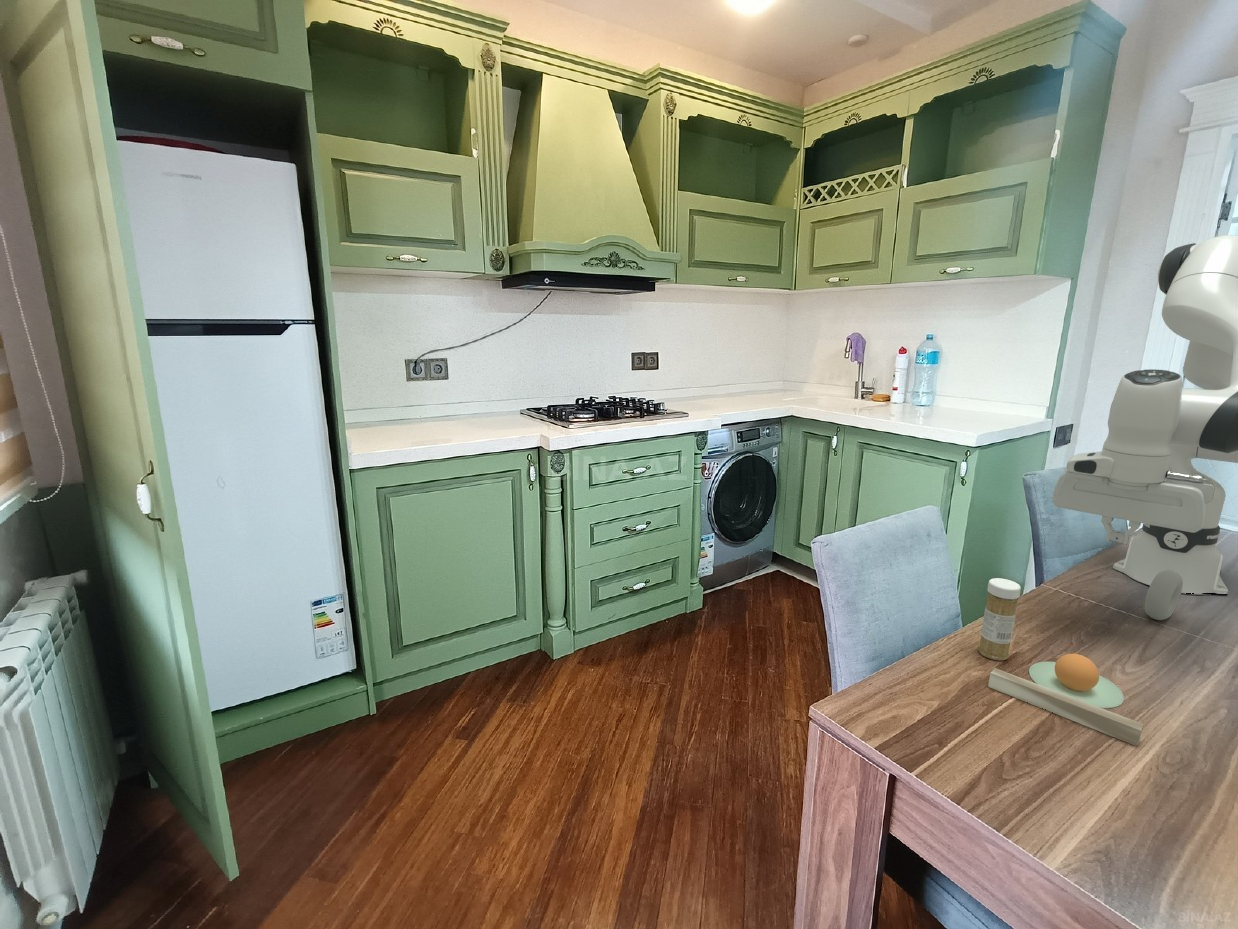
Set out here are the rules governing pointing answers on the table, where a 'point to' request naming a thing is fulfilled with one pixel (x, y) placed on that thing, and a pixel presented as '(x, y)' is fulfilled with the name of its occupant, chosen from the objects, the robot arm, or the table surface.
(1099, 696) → the disc
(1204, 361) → the robot arm
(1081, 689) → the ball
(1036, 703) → the rail
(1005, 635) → the sprinkles bottle
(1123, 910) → the table surface
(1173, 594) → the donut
